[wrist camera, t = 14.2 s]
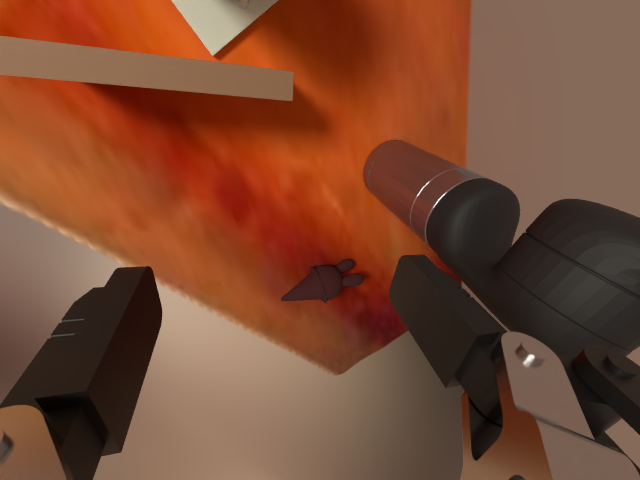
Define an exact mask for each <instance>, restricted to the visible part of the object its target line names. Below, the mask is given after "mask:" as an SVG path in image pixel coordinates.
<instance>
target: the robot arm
mask: <svg viewBox="0 0 640 480" xmlns="http://www.w3.org/2000/svg"><path fill="white" fill-rule="evenodd" d="M363 176H364V182H365V185H366V187H367V188H368V190H369V191H370V192H371V193H372V194H374V195H375V196H376V197H377V198H378V199H379V200H380V201H381V202H382V203H383V204H384V205H385V206H386V207H387V208H388V209H389V210H390V211H392V212H393V213H394V214H395V215H396V216H397V217H398V218H399V219H400V220H401V221H402V222H403V223H404V224H406V225H407V226H408V227H409V228H410V229H411V230H412V231H413V232H414V233H415V234H416V235H418V236H419V237H420V238H421V239H422V240H423V241H424V242H425V243H426V244H427V245H428V246H429V247H430V248H432V249H433V250H434V251H435V252H436V253H437V254H438V256H439V257H440V259H441V260H442V261H443V262H444V263H445V264H446V265H447V266H448V267H449V268H450V269H451V270H452V271H453V272H454V273H455V274H456V275H457V276H458V277H459V278H460V279H461V280H462V281H463V282H464V283H465V284H466V285H467V286H468V288H469V289H470V290H471V291H472V292H473V293H474V294H475V295H476V296H477V297H478V298H479V300H480V301H481V302H482V303H483V304H484V305H485V306H486V307H487V308H488V309H489V310H490V311H491V312H492V313H493V314H494V315H495V316H496V317H497V318H498V319H499V321H501V323H502V324H504V326H506V327H507V328H508V329H509V330H510V331H511V332H507V331H506V330H505V329H504V328H503V327H502V326H501V325H500V324H499V323H498V322H497V321H496V320H495V319H494V318H493V317H492V316H491V315H490V314H489V313H488V312H487V311H486V310H485V309H484V308H483V307H482V306H481V305H480V304H479V303H478V302H477V301H476V300H475V299H474V298H473V297H472V298H471V297H470V294H469V293H467V291H466V290H464V289H462V288H461V287H462V286H460V285H459V284H458V283H457V282H456V281H455V280H454V279H453V278H452V277H451V276H450V275H448V274H447V273H445V272H444V271H442V270H440V269H439V268H437V267H436V266H435V265H434V264H433V263H432V262H431V261H430V260H429V259H428V258H427V257H426V256H425V255H404V256H402V257H401V258H400V259H399V262H398V265H397V268H396V271H395V274H394V277H393V280H392V283H391V286H390V291H389V294H390V300H391V303H392V305H393V307H394V308H395V310H396V311H397V313H398V314H399V316H400V318H401V319H402V321H403V322H404V324H405V325H406V327H407V328H408V330H409V331H410V333H411V335H412V336H413V338H414V339H415V341H416V342H417V344H418V345H419V347H420V349H421V350H422V352H423V353H424V355H425V357H426V358H427V360H428V361H429V363H430V364H431V366H432V367H433V369H434V371H435V372H436V374H437V375H438V377H439V378H440V380H441V382H442V383H443V384H444V386H445V388H449V387H453V386H458V385H461V386H462V387H463V389H464V390H465V391H464V393H463V394H462V397H461V405H462V429H463V431H462V432H463V457H464V463H463V471H462V475H461V478H460V480H640V469H639V468H638V466H637V465H636V464H635V463H634V462H633V461H632V460H631V459H630V458H629V457H628V456H627V455H626V454H625V453H624V452H623V451H622V450H621V449H620V448H619V447H618V445H617V444H616V443H615V442H614V441H613V440H612V439H611V438H610V437H609V436H608V435H607V434H606V433H605V431H606V430H607V429H609V428H610V427H611V426H612V425H614V424H615V423H616V422H618V421H619V420H620V419H622V418H623V419H624V420H625V421H626V422H627V423H628V424H629V425H630V426H631V427H632V428H633V429H634V430H635V431H636V432H637V433H638V434H639V435H640V366H638V365H637V364H636V363H634V362H633V361H631V360H630V359H628V358H627V357H626V356H627V355H628V354H630V353H631V352H632V351H633V350H635V349H636V348H638V347H639V346H640V218H639V217H636V216H634V215H631V214H628V213H626V212H623V211H620V210H618V209H615V208H612V207H608V206H605V205H602V204H599V203H594V202H590V201H586V200H580V199H563V200H559V201H556V202H554V203H552V204H551V205H549V206H548V207H547V208H546V209H545V210H544V211H543V212H542V213H541V214H540V215H539V216H538V217H537V218H536V219H535V221H534V222H533V223H532V224H531V225H530V226H529V227H528V228H527V230H526V232H527V233H523V234H522V235H521V236H520V237H519V239H518V240H517V241H516V242H515V243H514V245H513V246H512V241H513V238H514V235H515V232H516V228H517V226H518V222H519V217H520V205H519V201H518V199H517V197H516V195H515V194H514V193H513V192H512V191H511V190H510V189H509V188H507V187H505V186H503V185H502V184H499V183H497V182H495V181H492V180H490V179H488V178H485V177H483V176H481V175H479V174H476V173H474V172H472V171H469V170H467V169H465V168H462V167H460V166H458V165H456V164H454V163H451V162H449V161H447V160H445V159H442V158H440V157H438V156H436V155H433V154H431V153H429V152H427V151H424V150H422V149H420V148H418V147H416V146H413V145H411V144H409V143H407V142H404V141H401V140H391V141H387V142H385V143H383V144H381V145H380V146H378V147H377V148H376V149H375V150H374V151H373V152H372V153H371V154H370V156H369V157H368V159H367V161H366V164H365V167H364V174H363ZM511 246H512V247H511ZM161 321H162V307H161V302H160V298H159V294H158V290H157V286H156V282H155V278H154V274H153V270H152V269H151V267H149V266H146V267H124V268H117V269H116V270H115V271H114V272H113V274H112V276H111V277H110V279H109V281H108V282H107V284H106V285H105V287H100V288H93V289H91V290H90V291H89V292H87V293H86V294H85V295H83V296H82V297H81V298H79V299H78V300H77V301H75V302H74V303H73V305H72V306H71V307H70V309H69V310H68V312H67V313H66V314H65V316H64V317H63V319H62V323H59V324H58V326H57V327H56V328H55V330H54V331H53V333H52V334H51V338H50V339H47V341H46V342H45V344H44V345H43V346H42V348H41V349H40V351H39V352H38V353H37V355H36V356H35V357H34V359H33V360H32V362H31V363H30V365H29V366H28V367H27V369H26V370H25V372H24V373H23V374H22V376H21V377H20V378H19V380H18V381H17V383H16V384H15V385H14V387H13V388H12V389H11V391H10V392H9V394H8V395H7V396H6V398H5V399H4V401H3V402H2V403H1V405H0V480H93V477H94V474H95V472H96V469H97V466H98V463H99V461H100V458H101V456H105V455H110V454H115V453H120V452H121V451H122V448H123V445H124V441H125V438H126V435H127V432H128V429H129V426H130V422H131V419H132V416H133V413H134V409H135V407H136V403H137V400H138V397H139V394H140V391H141V387H142V384H143V381H144V378H145V374H146V372H147V368H148V365H149V362H150V359H151V356H152V352H153V349H154V346H155V343H156V340H157V337H158V333H159V330H160V327H161Z"/></svg>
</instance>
